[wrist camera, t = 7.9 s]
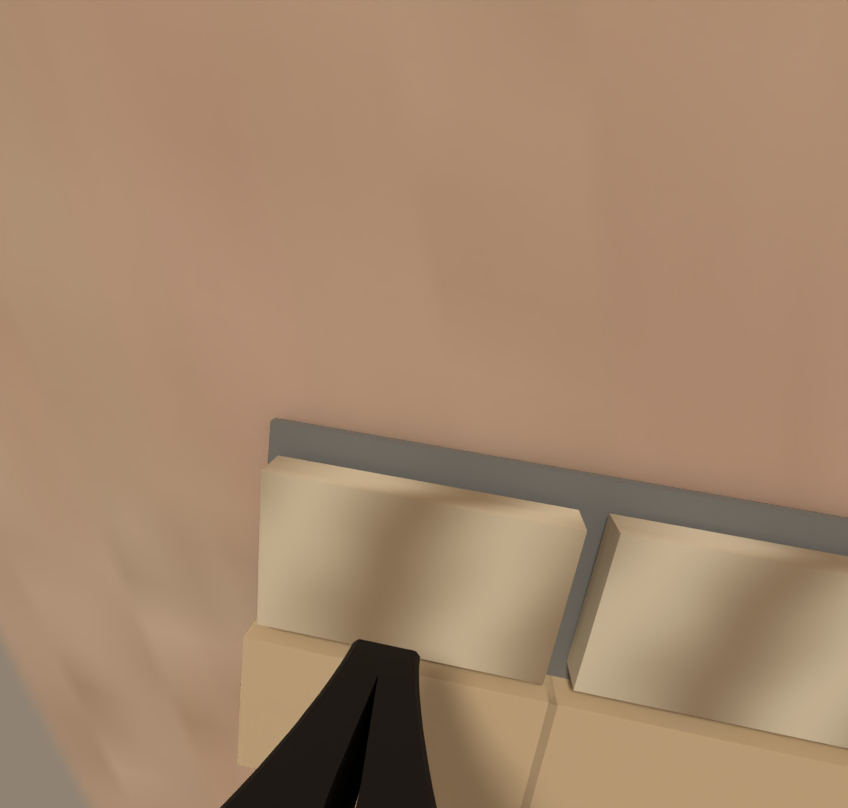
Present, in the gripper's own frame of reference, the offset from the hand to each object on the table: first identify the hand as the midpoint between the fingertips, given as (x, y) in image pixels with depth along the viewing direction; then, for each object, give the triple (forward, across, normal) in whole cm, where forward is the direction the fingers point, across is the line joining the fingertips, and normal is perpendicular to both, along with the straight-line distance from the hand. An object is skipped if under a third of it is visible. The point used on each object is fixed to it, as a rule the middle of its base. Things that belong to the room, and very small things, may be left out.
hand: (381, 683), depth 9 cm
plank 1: (+6, 0, +1) cm, 6 cm away
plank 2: (+6, -11, +1) cm, 13 cm away
